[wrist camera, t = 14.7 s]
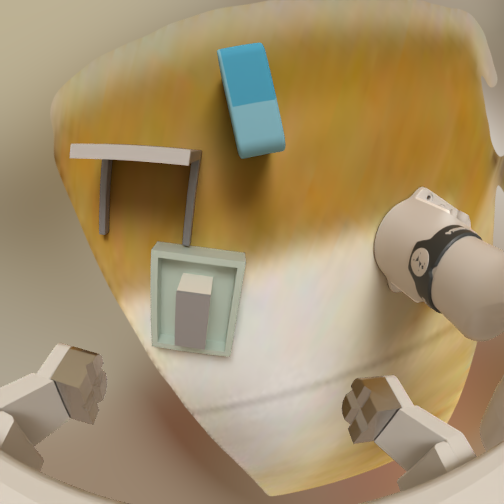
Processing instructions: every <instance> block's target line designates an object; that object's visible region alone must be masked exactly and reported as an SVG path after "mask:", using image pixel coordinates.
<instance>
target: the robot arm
mask: <svg viewBox="0 0 504 504" xmlns="http://www.w3.org/2000/svg"><path fill="white" fill-rule="evenodd" d="M427 196H428V199H427ZM374 251H375V258H376V262H377V264H378V266H379V268H380V270H381V271H382V272H383V273H384V274H385V276H386V277H387V281H388V286H389V288H390V290H391V291H393V292H395V293H397V292H403V293H405V294H406V295H407V296H408V297H410V298H411V299H412V300H413V301H415V302H417V303H419V302H425V303H426V304H427V305H428V306H429V307H430V308H432V309H433V310H435V311H436V312H438V313H441V314H443V315H444V316H445V317H446V318H447V319H448V320H449V321H450V322H451V323H452V324H453V325H454V326H455V327H456V328H457V329H458V330H459V331H460V332H461V333H462V334H463V335H464V336H465V337H466V338H468V339H471V340H474V341H488V340H490V339H493V338H495V337H496V336H498V335H499V334H501V333H502V332H504V251H503V250H501V249H499V248H496V247H494V246H492V245H490V244H488V243H486V242H484V241H483V240H482V239H481V237H479V236H478V235H477V233H476V232H474V231H473V230H472V229H471V223H470V219H469V216H468V215H467V214H465V213H463V212H461V211H458V210H457V209H456V208H454V207H453V206H452V205H450V204H449V203H447V202H446V201H445V200H443V199H442V198H440V197H439V196H437V195H436V194H434V193H433V192H431V191H430V190H428V189H427V188H425V187H420V188H418V189H417V190H416V191H415V192H414V194H413V195H412V196H411V197H410V198H408V199H407V200H405V201H402V202H400V203H399V204H397V205H396V206H394V207H393V208H392V209H391V210H390V211H389V212H388V213H387V214H386V216H385V217H384V219H383V220H382V222H381V224H380V226H379V228H378V231H377V234H376V238H375V246H374ZM102 365H103V359H102V356H101V355H100V354H97V353H94V352H90V351H87V350H83V349H80V348H76V347H72V346H69V345H66V344H63V343H59V344H57V345H56V346H55V347H54V349H53V350H52V352H51V353H50V355H49V356H48V358H47V359H46V360H45V362H44V363H43V365H42V366H41V368H40V369H39V371H38V372H37V374H35V373H31V374H29V375H27V376H25V377H23V378H20V379H18V380H16V381H14V382H12V383H10V384H7V385H5V386H3V387H1V388H0V504H129V503H125V502H121V501H117V500H114V499H110V498H106V497H103V496H100V495H97V494H94V493H91V492H88V491H85V490H83V489H80V488H77V487H75V486H72V485H69V484H67V483H65V482H62V481H60V480H57V479H55V478H53V477H50V476H49V475H46V474H44V473H42V472H40V471H41V468H42V465H43V462H44V460H43V458H42V457H41V455H40V454H39V453H38V451H37V450H36V449H35V448H34V446H35V445H36V444H38V443H39V442H41V441H42V440H43V439H45V438H46V437H47V436H49V435H50V434H52V433H53V432H54V431H55V430H57V429H58V428H60V427H61V426H62V425H63V424H65V423H66V422H68V421H69V420H70V418H72V419H75V420H78V421H82V422H85V423H88V424H92V425H93V424H94V422H95V419H96V417H97V414H98V412H99V408H98V404H97V403H98V402H100V401H102V400H103V399H104V396H105V394H106V388H107V377H106V373H105V372H104V371H103V370H102V368H101V367H102ZM351 388H352V391H350V392H349V393H348V394H346V396H345V398H344V400H343V404H342V414H343V417H344V419H345V420H346V421H347V422H348V423H350V426H349V428H348V430H349V433H350V436H351V439H352V441H353V444H354V443H362V442H369V441H374V442H375V443H376V444H377V445H378V446H379V447H380V448H381V449H382V450H384V451H385V452H386V453H387V454H388V455H389V456H390V457H391V458H392V459H393V460H395V461H396V462H397V463H398V464H399V465H400V466H401V467H402V468H404V469H405V470H406V471H407V472H406V473H405V474H404V475H403V476H401V477H400V478H399V479H398V481H397V483H398V485H399V488H400V491H401V492H398V493H395V494H392V495H389V496H385V497H382V498H379V499H376V500H372V501H368V502H364V503H361V504H504V375H503V377H502V379H501V380H500V382H499V384H498V385H497V387H496V389H495V391H494V394H493V396H492V398H491V400H490V402H489V404H488V407H487V409H486V411H485V414H484V416H483V418H482V421H481V425H480V436H481V440H482V443H483V446H484V448H485V449H486V452H485V453H483V454H481V455H480V456H478V457H477V456H476V455H475V454H474V451H473V450H472V448H471V446H470V445H469V443H468V441H467V440H466V438H465V436H464V435H463V433H462V432H460V431H458V430H457V429H455V428H453V427H452V426H450V425H448V424H447V423H445V422H443V421H442V420H440V419H439V418H437V417H435V416H434V415H432V414H430V413H429V412H427V411H426V410H424V409H422V408H421V407H419V406H418V405H417V406H414V405H413V403H412V401H411V400H410V398H409V396H408V395H407V393H406V391H405V390H404V388H403V386H402V385H401V383H400V382H399V380H398V378H397V377H396V376H394V375H388V376H377V377H365V378H357V379H355V380H354V381H353V383H352V385H351Z"/></svg>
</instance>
